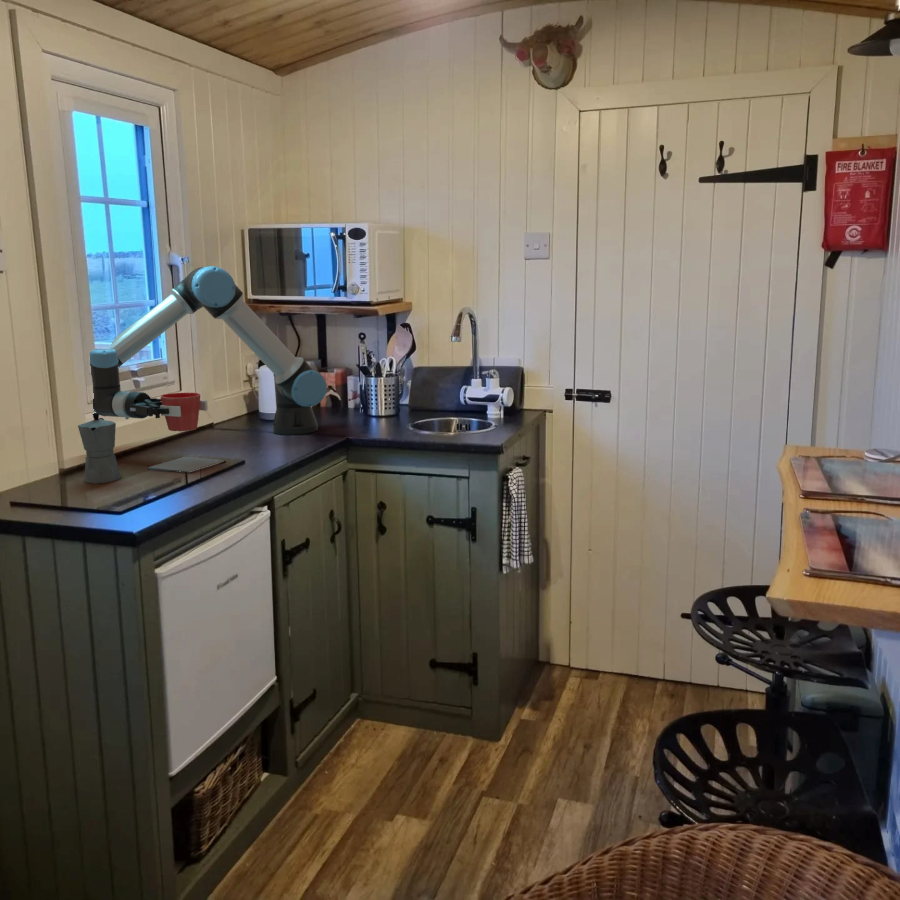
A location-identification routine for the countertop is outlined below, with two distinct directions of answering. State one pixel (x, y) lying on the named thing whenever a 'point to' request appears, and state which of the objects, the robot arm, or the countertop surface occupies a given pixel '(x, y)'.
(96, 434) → the coffeepot
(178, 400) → the flower pot
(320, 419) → the countertop surface
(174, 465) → the slate coaster
